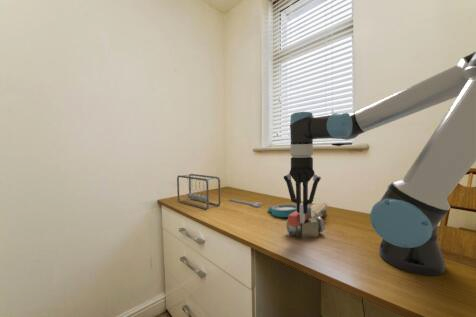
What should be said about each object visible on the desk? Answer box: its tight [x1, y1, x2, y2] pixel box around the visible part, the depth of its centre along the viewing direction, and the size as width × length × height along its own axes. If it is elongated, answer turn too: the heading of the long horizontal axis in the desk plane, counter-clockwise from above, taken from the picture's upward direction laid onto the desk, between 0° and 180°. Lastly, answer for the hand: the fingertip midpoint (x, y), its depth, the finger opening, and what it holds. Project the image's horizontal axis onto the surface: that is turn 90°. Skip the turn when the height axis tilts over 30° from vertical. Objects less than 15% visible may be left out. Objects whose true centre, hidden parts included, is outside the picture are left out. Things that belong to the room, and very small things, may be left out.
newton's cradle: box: [176, 173, 221, 210], centre depth 128 cm, size 30×10×18 cm, turn 50°
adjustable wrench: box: [228, 198, 263, 208], centre depth 129 cm, size 25×6×2 cm, turn 46°
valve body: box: [285, 216, 326, 240], centre depth 82 cm, size 13×7×7 cm, turn 103°
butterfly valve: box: [267, 201, 328, 218], centre depth 104 cm, size 27×7×30 cm
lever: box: [287, 205, 311, 227], centre depth 78 cm, size 14×4×4 cm, turn 140°
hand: (302, 221), depth 74 cm, fingers closed
